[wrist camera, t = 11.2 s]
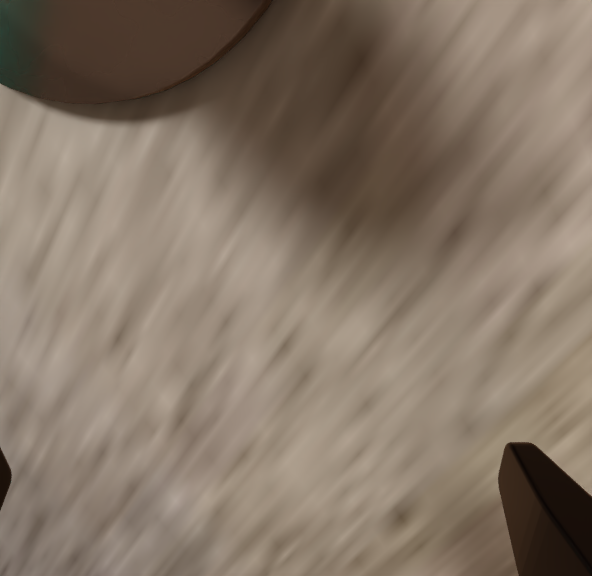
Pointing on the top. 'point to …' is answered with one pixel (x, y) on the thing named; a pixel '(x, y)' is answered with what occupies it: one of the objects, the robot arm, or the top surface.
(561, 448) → the top surface
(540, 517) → the robot arm
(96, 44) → the duct stub
